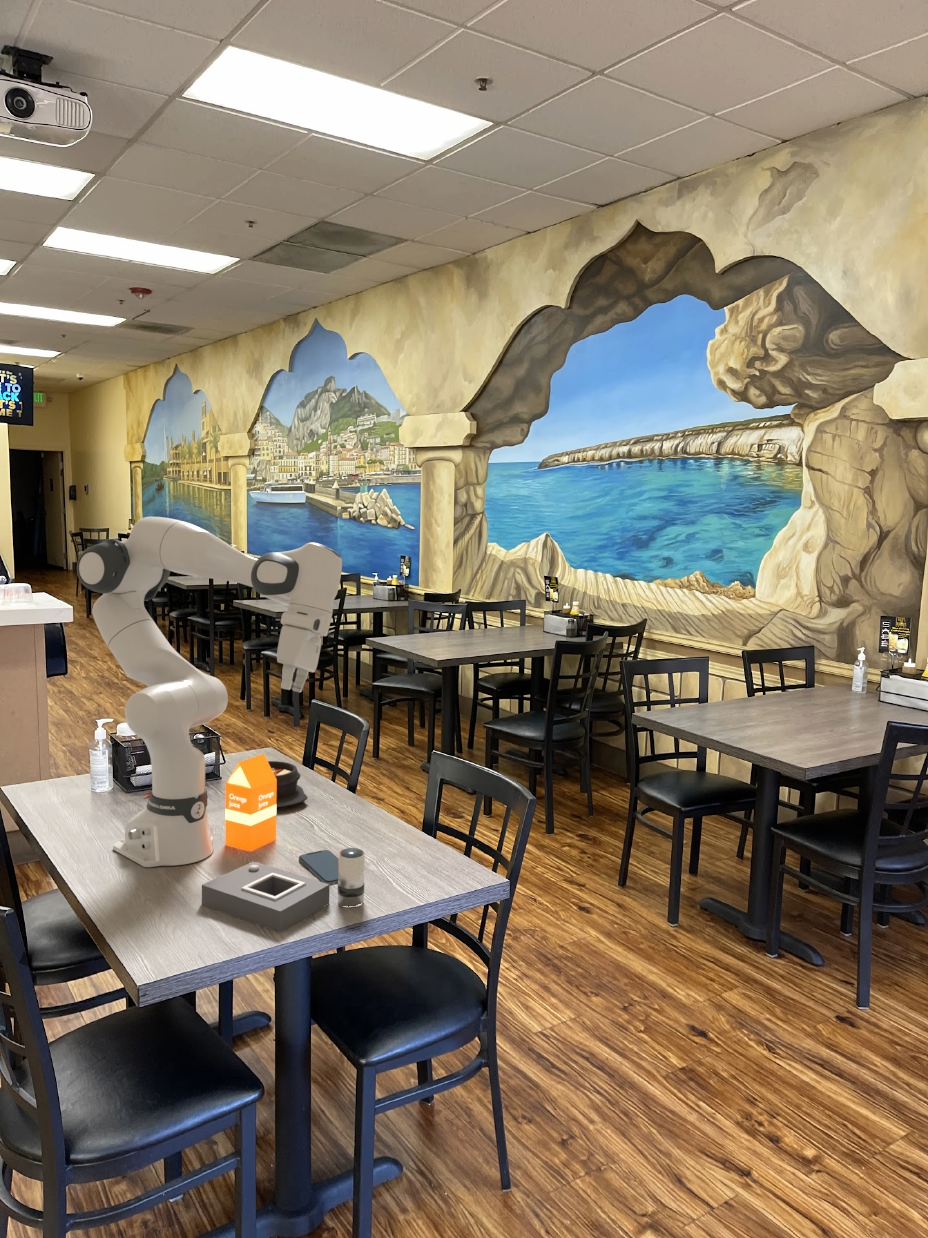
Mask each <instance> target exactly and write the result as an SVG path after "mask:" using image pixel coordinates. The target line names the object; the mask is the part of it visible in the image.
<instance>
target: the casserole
mask: <svg viewBox="0 0 928 1238" xmlns="http://www.w3.org/2000/svg"><path fill="white" fill-rule="evenodd" d="M267 761H268V763H269V765H270V767H271V769H272V771H273V773H274V775H275V777H276V779H277V786H276V804H277V808H283V807H288V806H294V805H297V804H300V803H303V802H305V801H306V800H308V796H307V795H306V794H305V791H304V789H303V787H302V786H300V785H298V781H299V779H301V776H302V775H301V774H300V772H299V770H298V768H297V766H296V765H294V764H293V763H290V762H285V761H276V760H272V761H270V760H267Z"/></svg>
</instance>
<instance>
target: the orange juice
mask: <svg viewBox="0 0 928 1238" xmlns="http://www.w3.org/2000/svg"><path fill="white" fill-rule="evenodd" d="M268 761H269V760H268V759H267V757H266V755H265V753H262V754H259V755H256V756H253V757H250V758H246V759H244V760H242V761H239V762H238V763H237V765H236V767H235V768H234V769H233V770H232V773H231V774H230V776H229V778H228V779H227V781H226V782H225V809H224V813H225V814H224V815H225V817H224V820H225V828H224V829H225V833H224V835H225V840H224V841H225V844H224V845H225V846H227V847H228V846H229V847H232V848H235V849H240V850H242V851H247V852H253V851H255V850H257V849H259V848H262V847H263V846H266V845H267V844H269V843H272V842H274V841H276V840H277V808H278V807H277V804H276V786H277V779H276V777H275V775H274V773H273V771H272V769H271V767H270V765H269V763H268Z"/></svg>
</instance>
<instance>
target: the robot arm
mask: <svg viewBox="0 0 928 1238" xmlns="http://www.w3.org/2000/svg"><path fill="white" fill-rule="evenodd" d="M342 568H343V559H342V556H341V555H340V553H338V551H336V550H334V549H332V548H330V547H328V546H326V545H324V544H321V543H318V542H315V541H314V542H313V541H312V542H307V543H306V544H303V545H302V546H300V547H297V548H295V549H292V550H287V551H278V552H274V551H273V552H272V551H271V552H266V553H265V554H262V555H261V556H260V557H258V558H254V557H252V556H250V555H248V554H246V553H244V552H242V551H240V550H239V549H237V548H235V547H233V546H232V545H230V544H228V543H227V542H226V541H224V540H222V539H221V538H219V537H218V536H216V535H214V534H213V533H212V532H210V531H207V530H206V529H204V528H202V527H200V526H197V525H196V524H194V523H193V524H192V523H191V522H187V521H183V520H181V519H180V520H179V519H174V518H170V517H161V516H152V515H151V516H146V517H145V516H144V517H142V518H140V519H138V521H137V522H135V524H134V525H133V526H132V528H131V530H130V534H129V537H128V538H127V539H125V540H123V541H120V540H119V539H117V538H113V539H109V540H107V541H104V542H101V543H97V544H94V545H91V546H89V547H87V548H85V549H84V550H83V551H82V553H80V555H79V556H78V560H77V564H76V573H77V577H78V580H79V581H80V582H81V585H83V586H84V587H85V588H86V589H88V590H90V591H93V592H96V593H101V594H102V595H100V596H99V598H97V599H96V600H95V602H94V604H93V607H92V609H91V610H92V617H93V620H94V622H95V624H96V627H97V629H98V631H99V633H100V636H101V637H102V639H103V640H104V643H105V644H106V646H107V647H108V649H109V651H110V653H112V655H113V657H114V658H115V660H116V662H117V663H118V665H119V666H120V667H121V669H122V670H123V672H124V673H125V675H126V676H127V677H129V678H130V679H132V680H134V681H136V682H140V683H142V684H144V685H146V687H144V688H143V689H141V690H138V691H137V692H135V693H133V694H132V695H130V697H129V698H128V699H127V701H126V703H125V707H124V719H125V722H126V724H127V726H128V728H129V729H130V731H132V733H133V734H135V735H136V736H137V737H139V738H140V739H141V740H142V741H143V742H144V744H145V746H146V747H147V751H148V754H149V757H150V763H151V783H152V784H151V786H152V787H151V788H152V791H150V792H146V793H144V794H143V796H144V797H143V799H144V800H145V799H148V800H147V802H146V803H147V804H146V807H145V808H143V809H142V810H141V811H140V812H138V813H137V814H135V815H134V816H133V817H131V818H130V819H129V820H128V821H127V823H126V825H125V829H124V837H123V838H121V839H119V840H118V841H116V842H115V843H114V844H113V846H112V849H113V850H114V851H115V852H117V853H118V854H120V855H122V856H124V857H126V858H127V859H129V860H131V861H133V862H135V863H137V864H138V865H140V866H142V867H143V868H154V867H160V866H161V867H162V866H164V867H165V866H180V865H183V866H184V865H188V864H192V863H196V862H200V861H202V860H205V859H206V858H208V857H210V856H211V854H212V853H213V850H214V848H213V845H212V844H213V842H214V837H213V836H211V828H210V820H209V811H208V809H207V807H208V797H209V796H208V790H207V788H206V758H205V755H204V753H203V752H202V751H201V750H200V749H198V748H197V747H194V746H193V744H192V742H191V737H190V729H191V728H194V727H198V726H201V725H204V724H207V723H210V722H211V721H212V720H215V719H216V718H217V717H219V716H220V715H221V714H224V711H225V710H226V708H227V706H228V703H229V702H228V700H229V696H228V695H229V694H228V691H227V687H226V686H225V685H224V683H223V681H221V680H220V679H219V678H217V677H215V676H212V675H209V674H207V673H206V672H203V671H201V670H200V669H198V668H196V667H195V666H194V665H193V664H192V663H190V662H189V661H188V660H186V659H185V658H184V657H183V656H182V655H181V654H180V653H179V652H178V651H176V650H175V648H174V647H173V646H172V645H171V644H170V642H169V641H168V640H167V638H166V637H165V635H164V634H163V632H162V631H161V629H160V628H159V626H157V624H156V622H155V621H154V619H153V617H151V615H150V614H149V612H148V611H147V609H146V607H145V604H144V603H145V601H150V600H152V599H154V598H155V597H156V595H157V593H158V591H159V590H161V588H163V587H164V586H165V584H166V583H167V581H168V579H169V577H170V574H171V572H173V573H176V574H181V575H184V576H185V575H186V576H192V577H197V578H206V579H212V580H213V579H214V580H219V581H226V582H233V583H237V584H241V585H244V586H248V587H250V588H253V589H254V591H256V592H257V593H258V594H259V595H261V596H262V597H264V598H266V599H268V600H271V601H274V602H275V603H278V604H281V605H284V606H286V607H287V609H286V611H284V612H283V613H282V615H281V618H280V624H282V627H281V629H280V634H279V639H278V644H277V651H276V660H277V663H279V664H282V665H283V666H282V669H281V672H282V673H281V684H280V688H281V689H282V690H288V691H290V690H292V691H293V692H297V693H301V692H302V691H303V689H304V685H305V683H306V680H307V678H308V675H309V672H310V673H315V672H316V670H317V667H318V664H319V658H320V653H321V649H322V638H321V637H327V636H328V635H329V629H330V625H331V621H332V618H333V612H334V607H333V604H334V601H335V599H336V596H337V595H338V591H339V587H340V582H341V579H342V577H341V575H342V571H343V570H342ZM296 669H297V670H296ZM295 672H296V677H295V680H294V681H293V677H294V673H295Z"/></svg>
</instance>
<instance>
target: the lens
mask: <svg viewBox="0 0 928 1238" xmlns="http://www.w3.org/2000/svg"><path fill="white" fill-rule="evenodd" d="M365 854H366V853H365V851H364V850H362V849H361V848H359V847H358V848H357V847H347V848H344V849H342V850H341V851H339V853H338V858H339V875H338V883H337V904H338V903H339V904H340V905H341V906H348V907H349V906H356V905H358V904H361V903H363V904H364V902H363V901H364V899H365V897H364V893H365ZM339 904H338V905H339ZM340 905H339V906H340ZM341 906H340V907H341Z"/></svg>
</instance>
